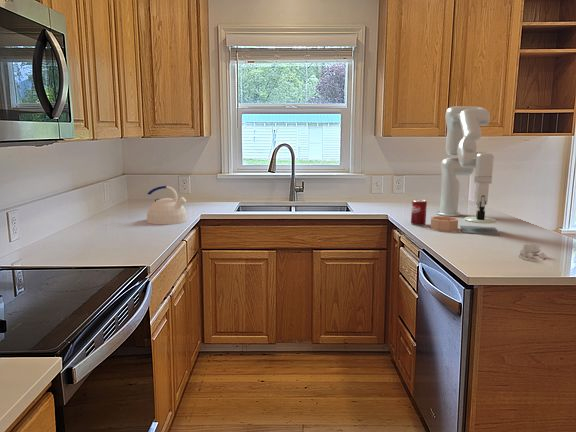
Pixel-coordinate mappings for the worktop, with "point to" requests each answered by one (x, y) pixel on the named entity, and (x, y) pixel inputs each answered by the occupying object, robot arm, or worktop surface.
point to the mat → (479, 230)
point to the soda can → (418, 212)
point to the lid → (475, 220)
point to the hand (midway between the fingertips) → (480, 218)
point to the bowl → (444, 223)
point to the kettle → (167, 209)
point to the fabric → (531, 252)
